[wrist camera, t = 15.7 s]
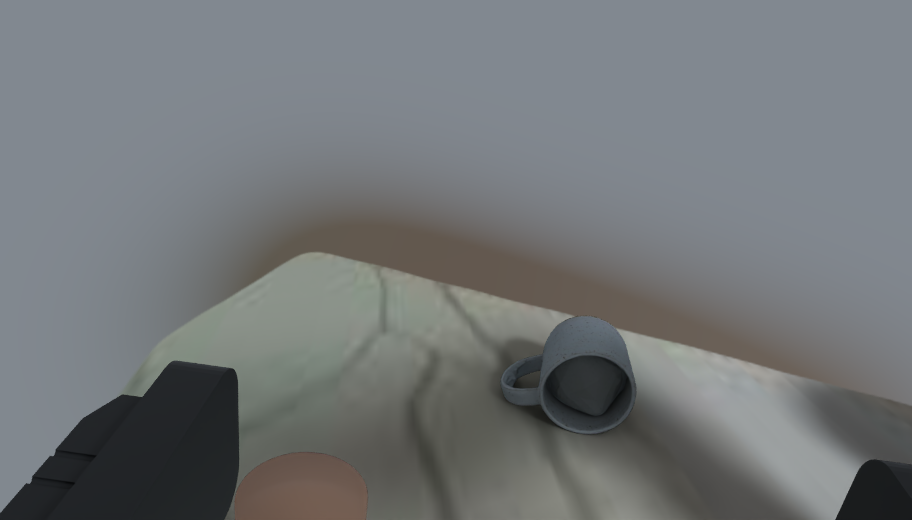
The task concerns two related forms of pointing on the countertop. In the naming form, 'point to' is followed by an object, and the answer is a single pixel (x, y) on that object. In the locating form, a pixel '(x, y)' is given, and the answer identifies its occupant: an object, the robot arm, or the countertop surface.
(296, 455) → the canister
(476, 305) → the countertop surface
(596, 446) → the countertop surface
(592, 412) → the ceramic mug
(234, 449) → the robot arm
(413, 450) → the countertop surface
